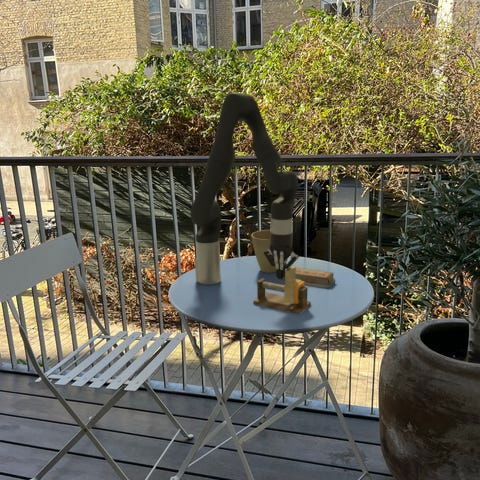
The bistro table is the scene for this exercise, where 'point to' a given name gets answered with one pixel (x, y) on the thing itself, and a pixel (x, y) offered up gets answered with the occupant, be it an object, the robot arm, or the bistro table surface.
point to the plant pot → (262, 250)
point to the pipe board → (280, 298)
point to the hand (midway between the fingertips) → (280, 278)
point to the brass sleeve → (290, 284)
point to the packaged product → (315, 277)
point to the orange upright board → (296, 287)
